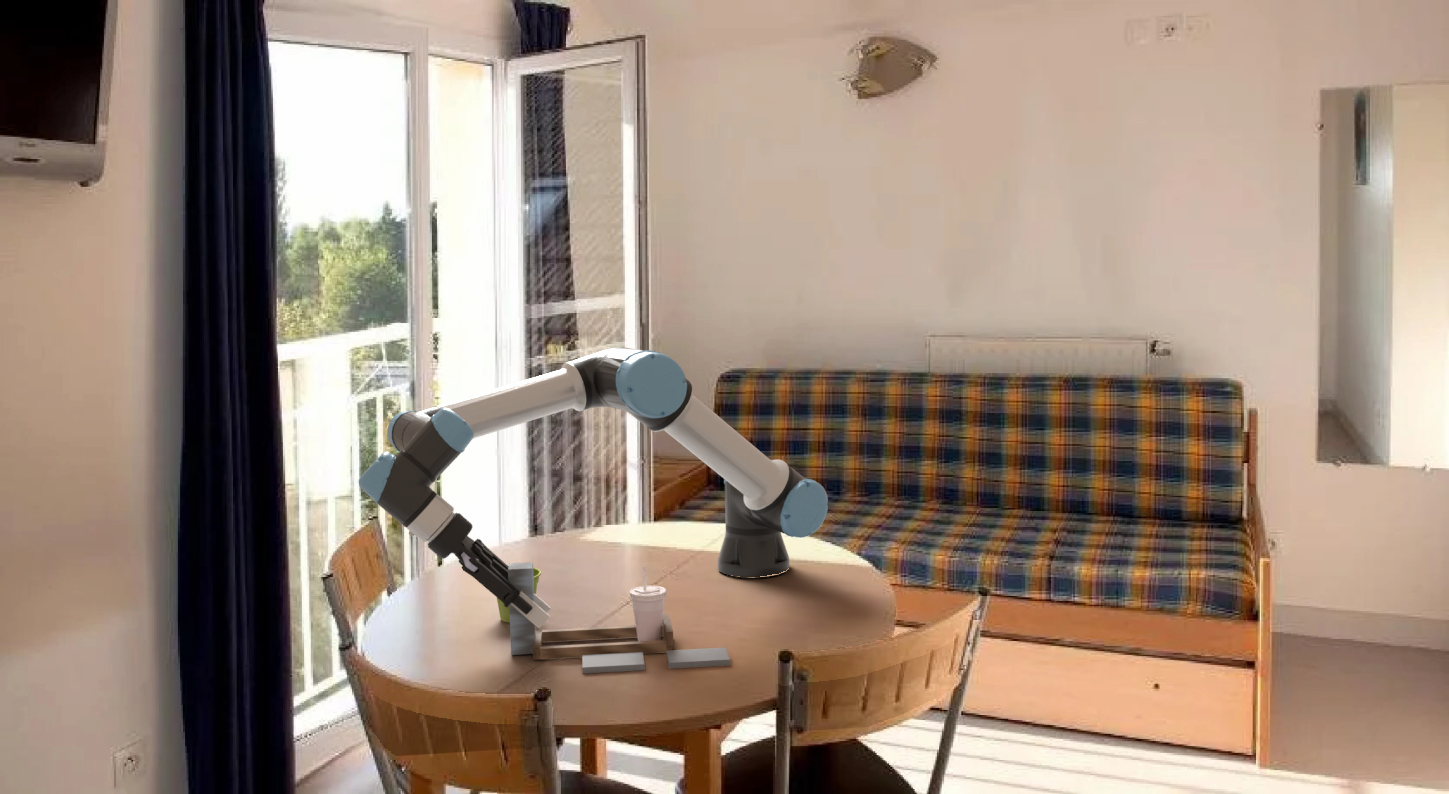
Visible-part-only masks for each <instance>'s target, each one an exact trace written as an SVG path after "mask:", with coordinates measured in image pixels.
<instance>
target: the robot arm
mask: <svg viewBox="0 0 1449 794" xmlns="http://www.w3.org/2000/svg"><path fill="white" fill-rule="evenodd" d="M592 408H613V409H615V410H616V409H617V410H620V411H623V412H627V413H628V414H629V415H631V416H632V417H634V418H635V419H636V420H637V421H639V422H640V423H641V424H642V425H643V426H645V427H646V428H647V429H648V430H650V431H651V432H654V433H658V432H663V431H664V432H666V433H667V434H668V435H669V436H670V437H672V438H673V440H676V441H677V442H678V443H679V444H681V445H682V447H684V448H685V449H686V450H688V451H689V452H690V453H691V454H693V455H695V457H696V458H698V459H699V460H700V461H701V462H702V463H704V464H705V465H707V466H708V467H709V468H710V469H711V470H713V472H715V473H716V474H718V476H720V477H721V478H723V484H724V509H725V517H724V518H725V534H724V535H725V536H724V538H723V541H722V545H721V547H720V551H719V555H718V558H717V570H719V571H720V572H722V573H724V574H728V575H733V576H740V577H760V576H767V575H772V574H779V573H781V572H783V571H786V570H787V569H788V568H789V566H790V565H791V564H790V556H789V554H788V550H787V548H786V544H785V541H784V538H783V535H782V534H784V535H786V536H788V537H791V538H793V537H795V538H806V537H809V536H811V535H813V534H815V532H817V531H818V530H819V529H820V528H821V526H822V525H823V523H824V521H825V519H826V517H827V513H828V509H829V508H828V507H829V506H828V502H829V499H828V498H829V497H828V493H827V491H826V489H825V488H824V486H822V484H820V483H819V482H817V481H816V480H814V479H812V478H806V477H805V476H803V475H801V474H800V473H798V471H797V470H796V469H794V468H792V467H791V466H790V465H789V464H788V463H787V462H786V461H784V460H782V459H779V458H778V459H770V458H769V457H768V456H766V454H764V453H763V452H761V451H760V450H759V449H758V448H757V447H756V446H755V445H753V444H752V443H751V442H749V440H748V439H746V438H745V436H743V435H741V434H740V433H739V432H738V431H737V430H736V429H734V428H733V427H732V426H731V425H729V424H728V423H727V422H726V421H725V420H724V419H722V418H721V417H720V416H718V414H716V413H715V412H714V411H713V410H712V409H710V408H709V406H707V405H706V404H705V403H703V402H702V401H701V400H700V399H698V397H696V396H695V395H694V386H693V383H692V382H691V381H690V380H688V379H687V378H686V375H685V372H684V370H683V368H682V367H681V366H680V364H679V363H678V362H677V361H676V360H674V359H673V358H672V357H670V356H669V355H666V354H665V353H662V352H660V351H655V350H648V349H647V350H641V349H636V348H629V347H620V346H617V347H612V348H607V349H603V350H601V351H598V352H594V353H592V354H588V355H585V356H583V357H579V358H577V359H573V360H570V361H567V362H566V361H565V362H563V364H562V365H561V367H560V369H559V370H558V369H557V370H554V371H551V372H548V373H545V374H542V375H541V374H540V375H538V376H534V377H531V378H527V379H525V380H521V381H518V382H515V383H514V382H513V383H510V384H506V385H504V386H501V387H496V388H493V389H491V390H487V391H484V392H481V393H477V394H472V395H470V396H467V397H463V398H460V399H457V400H453V401H449V402H446V403H443V404H439V405H436V406H434V407H429V408H426V409H423V410H418V411H416V410H404V411H401V412H398V413H397V414H395V415H394V416H393V417H392V418H391V419H390V421H389V423H388V425H387V430H386V432H387V440H388V441H389V443H390V444H391V446H392V447H393V448H394V449H395V450H397V452H398V453H397V454H396V455H395V454H394V453H393V454H392V453H391V452H390V451H384V452H382V453H381V455H379V456H378V458H377V459H376V460H375V461H373V462H372V464H371V465H370V466H369V467H368V468H367V469H366V470H365V472H364V473H362V475H360V477H359V479H358V486H359V487H360V490H361V489H362V491H364V492H365V494H367V496H369V497H370V498H371V499H372V501H374V503H376V504H377V505H378V506H379V507H381V508H382V509H383V510H384V511H385V512H387V513H388V514H389V515H390V516H391V517H392V518H393V519H395V520H396V521H397V522H399V523H400V525H402V526H404V528H406V529H407V530H408V534H409V536H410V537H414V536H415V537H416V538H417V539H418V540H420V541H421V542H422V543H426V542H427V548H428V549H429V550H431V551H432V552H433V553H434V554H436V556H437V557H439V558H440V559H443V560H444V559H446V558H448V557H449V556H450V555H451V554H453V555H454V556H455V557H456V558H457V559H458V563H459V564H460V565H461V570H462V571H463V572H465V573H466V574H468V575H470V576H471V577H472V578H474V579H475V581H477V582H478V583H479V584H481V585H482V586H483V587H484V588H485V589H486V590H487V591H489V592H490V593H491V594H492V595H493V596H495V597H496V599H497V598H498V599H499V600H501V601H502V602H503V603H504V604H505V605H504V606H505V607H508V606H509V605H510V604H511V605H512V606H513V607H514V608H516V609H517V610H518V611H519V612H520V613H521V614H522V615H524V616H525V617H526V618H527V619H528V620H529V621H531V622H532V623H533V624H534V625H535V628H537V629H541V627H542V626H543V625H545V623H546V622H547V621H548V620H549V619H550V618H551V615H550V614H549V613H548V612H549V611H550V610H551V606H550V605H549V604H547V603H546V602H545V600H543V599H542V598H541V597H539V595H537V593H536V594H535V593H534V601H532V600H531V599H530V598H529V597H528V596H527V595H526V594H524V593H523V592H522V591H521V592H519V590H517V589H516V588H515V587H514V586H513V585H512V584H511V583H510V582H509V581H508V567H509V564H506V562H504V561H503V560H502V559H501V558H499V556H497V554H496V553H494V552H493V551H492V550H491V549H490V548H488V547H487V546H486V545H485V544H484V542H483V541H482V540H481V539H480V538H477V539H475V540H474V539H472V538H471V537H470V536H468V535H469V534H470V533H471V531H472V530H473V524H472V523H471V522H470V521H469V520H468V519H467V518H466V517H464V516H463V515H462V514H461V513H459V512H455V508H454V506H452V504H450V503H449V502H448V501H446V500H445V499H444V498H443V497H442V496H440V495H439V494H438V493H437V492H436V491H434V490H433V489H432V488H431V486H432V484H433V483H434V482H435V481H436V480H437V479H438V478H439V477H440V476H441V475H442V474H443V473H444V472H445V470H446V469H447V468H449V467H450V465H451V464H452V463H453V462H454V461H455V460H456V459H457V457H459V456H460V455H461V453H464V451H465V450H466V448H467V447H468V445H469V444H470V443H471V442H472V440H473V439H476V438H479V437H483V436H486V435H490V434H492V433H495V432H499V431H502V430H505V429H508V428H511V427H515V426H518V425H522V424H525V423H528V422H531V421H534V420H537V419H540V418H545V417H548V416H551V415H553V414H557V413H560V412H565V411H567V410H570V409H573V410H575V411H577V412H582V411H585V410H588V409H592ZM719 571H718V572H719ZM720 572H719V573H720ZM722 573H721V574H722ZM724 574H723V575H724ZM728 575H727V576H728Z"/></svg>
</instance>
